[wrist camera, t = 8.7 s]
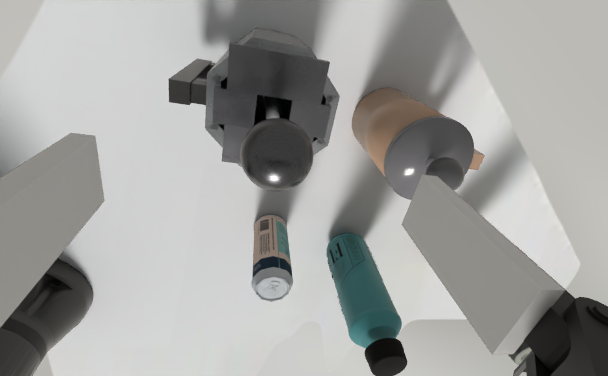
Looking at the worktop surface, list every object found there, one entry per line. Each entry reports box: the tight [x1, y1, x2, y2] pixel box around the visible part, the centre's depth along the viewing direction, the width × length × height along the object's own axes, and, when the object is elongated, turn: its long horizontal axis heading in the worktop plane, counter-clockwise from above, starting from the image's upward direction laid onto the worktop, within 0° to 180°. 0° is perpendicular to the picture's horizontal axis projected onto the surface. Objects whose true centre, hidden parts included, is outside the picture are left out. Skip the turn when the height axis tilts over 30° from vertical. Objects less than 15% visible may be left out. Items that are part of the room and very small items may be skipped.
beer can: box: [252, 215, 293, 302], centre depth 40 cm, size 5×5×12 cm
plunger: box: [240, 95, 313, 191], centre depth 22 cm, size 6×6×20 cm
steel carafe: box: [169, 28, 340, 167], centre depth 28 cm, size 12×9×16 cm
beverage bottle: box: [327, 233, 407, 376], centre depth 40 cm, size 6×7×20 cm
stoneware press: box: [352, 88, 485, 200], centre depth 32 cm, size 11×8×17 cm
